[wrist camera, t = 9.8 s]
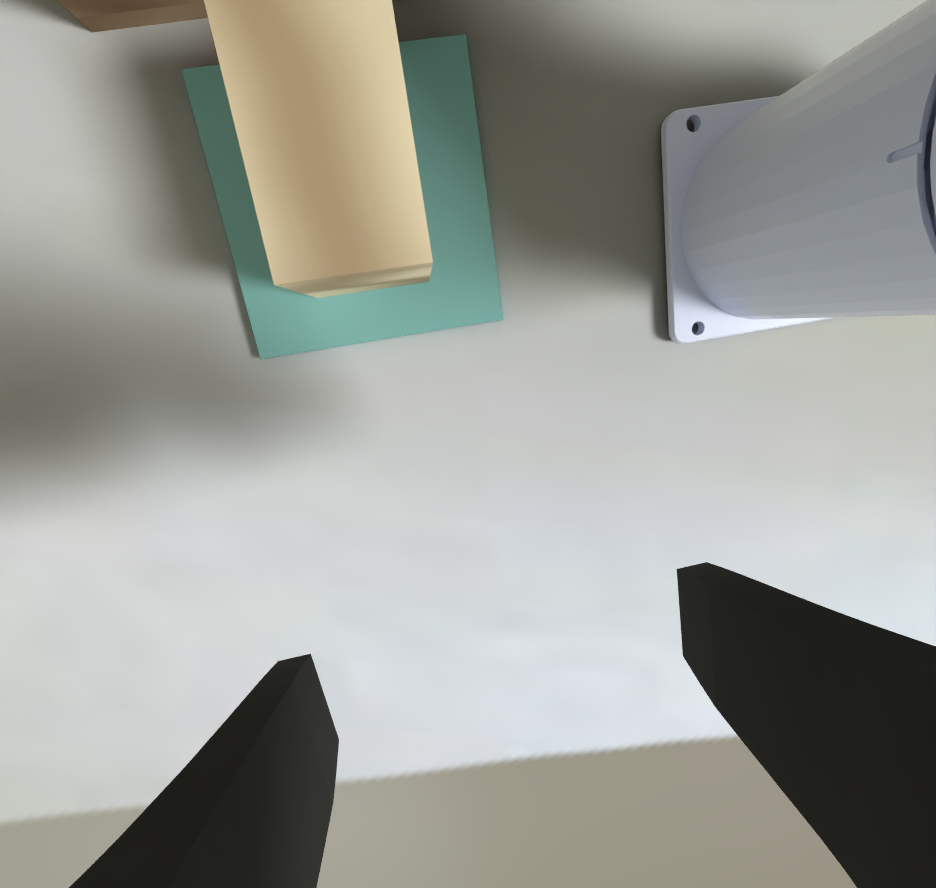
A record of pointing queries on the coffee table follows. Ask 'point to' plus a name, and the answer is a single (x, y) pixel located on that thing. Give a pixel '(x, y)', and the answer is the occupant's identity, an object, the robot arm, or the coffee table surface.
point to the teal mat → (445, 201)
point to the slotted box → (132, 12)
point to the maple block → (325, 141)
